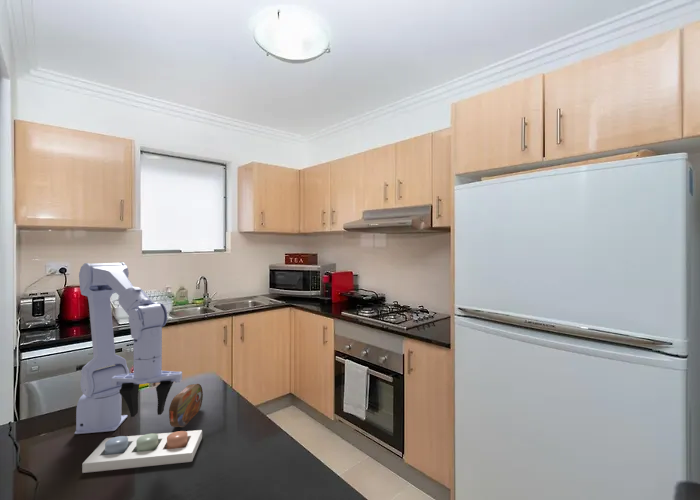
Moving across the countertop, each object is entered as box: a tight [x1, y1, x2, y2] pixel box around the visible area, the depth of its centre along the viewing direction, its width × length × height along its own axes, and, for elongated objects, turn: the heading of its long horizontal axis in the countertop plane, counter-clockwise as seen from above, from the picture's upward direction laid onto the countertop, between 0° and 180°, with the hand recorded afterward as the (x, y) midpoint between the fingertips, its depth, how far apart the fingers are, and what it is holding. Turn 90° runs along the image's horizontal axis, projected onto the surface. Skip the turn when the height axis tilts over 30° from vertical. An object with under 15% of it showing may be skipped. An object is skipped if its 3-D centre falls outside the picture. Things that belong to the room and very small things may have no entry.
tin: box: [168, 383, 204, 428], centre depth 97 cm, size 15×3×8 cm, turn 179°
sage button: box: [136, 433, 158, 452], centre depth 81 cm, size 4×4×2 cm
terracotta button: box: [167, 430, 188, 449], centre depth 82 cm, size 4×4×2 cm
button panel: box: [81, 429, 203, 474], centre depth 81 cm, size 22×10×2 cm, turn 101°
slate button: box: [105, 435, 128, 455], centre depth 80 cm, size 4×4×2 cm
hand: (147, 413), depth 81 cm, fingers open, 5 cm apart
